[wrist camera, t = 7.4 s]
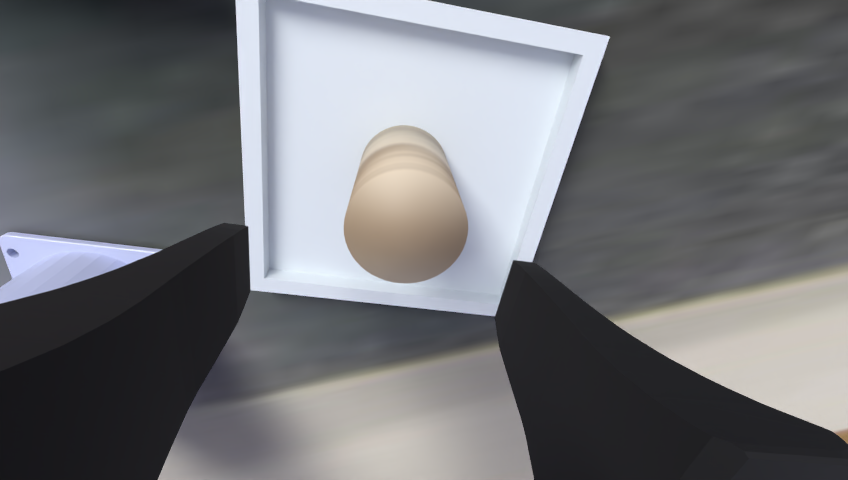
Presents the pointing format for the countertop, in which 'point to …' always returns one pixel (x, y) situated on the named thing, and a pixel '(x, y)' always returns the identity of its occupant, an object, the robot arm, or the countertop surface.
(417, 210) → the birch peg
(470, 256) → the white tray
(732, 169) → the countertop surface
